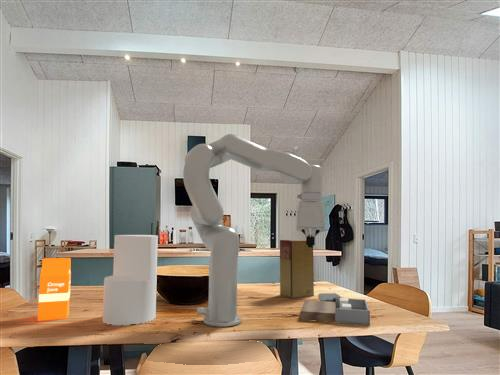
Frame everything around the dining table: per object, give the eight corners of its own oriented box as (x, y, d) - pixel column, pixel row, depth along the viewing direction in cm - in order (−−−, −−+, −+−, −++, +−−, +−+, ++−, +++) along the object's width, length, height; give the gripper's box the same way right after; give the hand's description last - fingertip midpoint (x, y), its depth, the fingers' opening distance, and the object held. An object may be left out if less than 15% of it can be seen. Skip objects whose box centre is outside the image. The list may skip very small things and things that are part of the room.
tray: (335, 322, 124) (335, 308, 124) (335, 310, 141) (335, 298, 142) (369, 325, 121) (369, 310, 122) (366, 311, 139) (365, 299, 139)
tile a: (339, 300, 135) (348, 300, 134) (340, 297, 139) (348, 298, 138) (339, 313, 135) (348, 313, 134) (340, 310, 139) (348, 310, 138)
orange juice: (41, 315, 130) (44, 257, 132) (69, 313, 133) (72, 256, 135) (37, 320, 123) (40, 259, 125) (66, 318, 126) (69, 258, 128)
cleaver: (353, 309, 143) (353, 304, 143) (327, 309, 143) (327, 304, 143) (335, 295, 172) (335, 290, 172) (314, 295, 172) (314, 290, 173)
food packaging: (301, 292, 176) (301, 239, 178) (315, 295, 168) (314, 240, 170) (278, 295, 169) (278, 239, 171) (291, 298, 161) (291, 240, 163)
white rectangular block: (342, 306, 125) (351, 306, 125) (341, 303, 130) (350, 304, 129) (342, 320, 125) (351, 320, 124) (342, 316, 129) (350, 317, 129)
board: (300, 320, 126) (300, 311, 127) (305, 308, 144) (305, 300, 144) (335, 322, 124) (335, 313, 124) (335, 310, 141) (335, 302, 141)
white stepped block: (129, 310, 139) (132, 234, 141) (166, 315, 131) (168, 235, 133) (90, 320, 123) (94, 236, 126) (129, 328, 115) (132, 237, 118)
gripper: (289, 196, 138) (288, 246, 136) (331, 197, 134) (330, 249, 132) (293, 198, 145) (291, 245, 143) (332, 199, 141) (331, 247, 139)
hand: (310, 247), depth 138 cm, fingers closed
